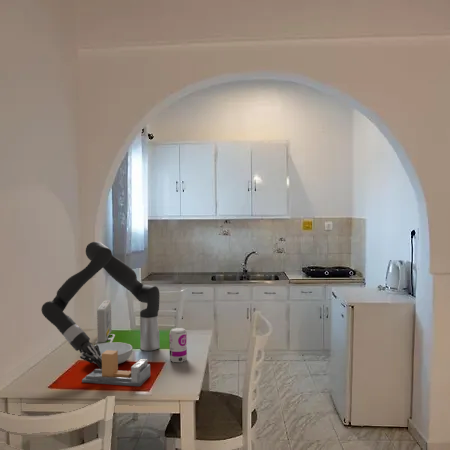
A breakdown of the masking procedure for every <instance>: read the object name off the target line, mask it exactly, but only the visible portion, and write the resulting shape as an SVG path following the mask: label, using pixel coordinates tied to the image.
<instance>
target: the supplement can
mask: <svg viewBox="0 0 450 450" xmlns="http://www.w3.org/2000/svg"><path fill="white" fill-rule="evenodd" d="M168 336H169V342H168V343H169V361H170V362H171V361H172V362H171V363H174V362H181V363H184V362H186V360H187V358H188V353H187V352H188V351H187V350H188V347H187V346H188V345H187V344H188V343H187V340H188V337H187V330H186V328H184V327H173V328H171V329H170V331H169V335H168ZM183 361H184V362H183Z"/></svg>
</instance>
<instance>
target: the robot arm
mask: <svg viewBox="0 0 450 450" xmlns="http://www.w3.org/2000/svg"><path fill="white" fill-rule="evenodd" d="M85 254H86V257H87V258H88V260H90V262H89V263H88V264H87V265H86V266H85V267H84V268H83V269H82V270H80V271H79V272H76V273H75V274H73V275H72V276H70V277H69V278H68V279H66V281H65V282H63V283H62V285H61V286H60V287H59V288H58V290H57V291H56V295H55V297H54V298H53V299H52V300H49V301H47V302H44V303H43V304H42V306H41V313H42V316H43V317H44V318H45V319H46V320H48V321H49V322H50V323H51V324H52V325H53V326H54V327H56V329H57V331H59V332H60V334H61V335H62V336H63V338H64V339H65V341H67V342H68V344H70V346H71V347H72V349H74V350H75V351H77V352H78V351H79V353H80V356H79V358H80V359H81V360H84V361H86V362H88V363H90V364H92V363H94V362H95V363H96V366H97V367H98V369H102V360H101V359H100V355H101V353H100V350H99V347H98V345H97V344H95V345H96V346H94V344H93V343H92V342H90V340H91V338H90V337H89V336H88V334H87V333H86V332H85V331H84V330H83V329H82V328H81V326H79V325H78V324H77V323H76V322H75V321H74V319H73V318H71V317H70V315H67V314H66V313H64V311H65V309H66V308H67V306H68V304H69V303H70V301H71V300H72V299H73V298H74V297H75V296H76V294H78V292H79V290H81V289H82V288H83V286H85V284H86V283H87V282H88V281H89V280H91V279H92V278H93V277H94V276H95V275H96V274H98V273H99V271H101V270H102V269H103V270H105V272H107V274H108V275H110V276H111V278H112V279H114V280H115V282H117V283H118V284H119V285H121V286H122V287H123V288H125V289H126V290H127V291H129V292H130V294H131V295H133V296H134V297H135V298H136V299H137V300H138V302H140V303H144V304H146V308H144V309H141V310H140V312H139V321H140V324H139V327H140V328H139V329H140V332H139V333H140V334H139V335H140V345H139V346H140V350H142V351H145V352H147V351H148V352H150V351H155V350H157V349H160V330H159V310H160V295H161V294H160V288H158V286H156V285H149V284H143V283H142V282H141V281H139V280H138V278H137V274H136V272H135V270H134V269H133V268H131V267H130V265H128V264H127V263H125V262H123V261H122V260H121V259H119V258H117V257H115V256H114V255H113V254H112V250H111V249H110V248H109V247H108V246H107V245H105V244H103V243H102V242H100V241H92V242H90V243H88V244H87V245H86V248H85ZM95 363H94V364H95Z"/></svg>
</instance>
